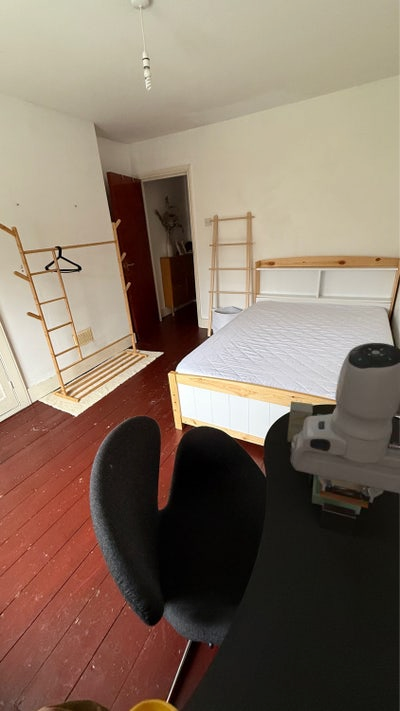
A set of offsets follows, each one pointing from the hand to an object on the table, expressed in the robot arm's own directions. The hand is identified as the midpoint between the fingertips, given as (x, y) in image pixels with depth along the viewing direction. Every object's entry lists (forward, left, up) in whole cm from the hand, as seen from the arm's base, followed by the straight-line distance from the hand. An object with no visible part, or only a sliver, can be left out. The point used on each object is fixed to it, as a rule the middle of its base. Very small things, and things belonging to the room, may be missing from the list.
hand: (345, 493), depth 56 cm
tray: (-19, -16, -15) cm, 29 cm away
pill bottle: (-10, -20, -15) cm, 27 cm away
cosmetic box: (-16, -27, -15) cm, 35 cm away
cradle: (-7, -6, -15) cm, 17 cm away
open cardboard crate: (-4, -4, -6) cm, 8 cm away
